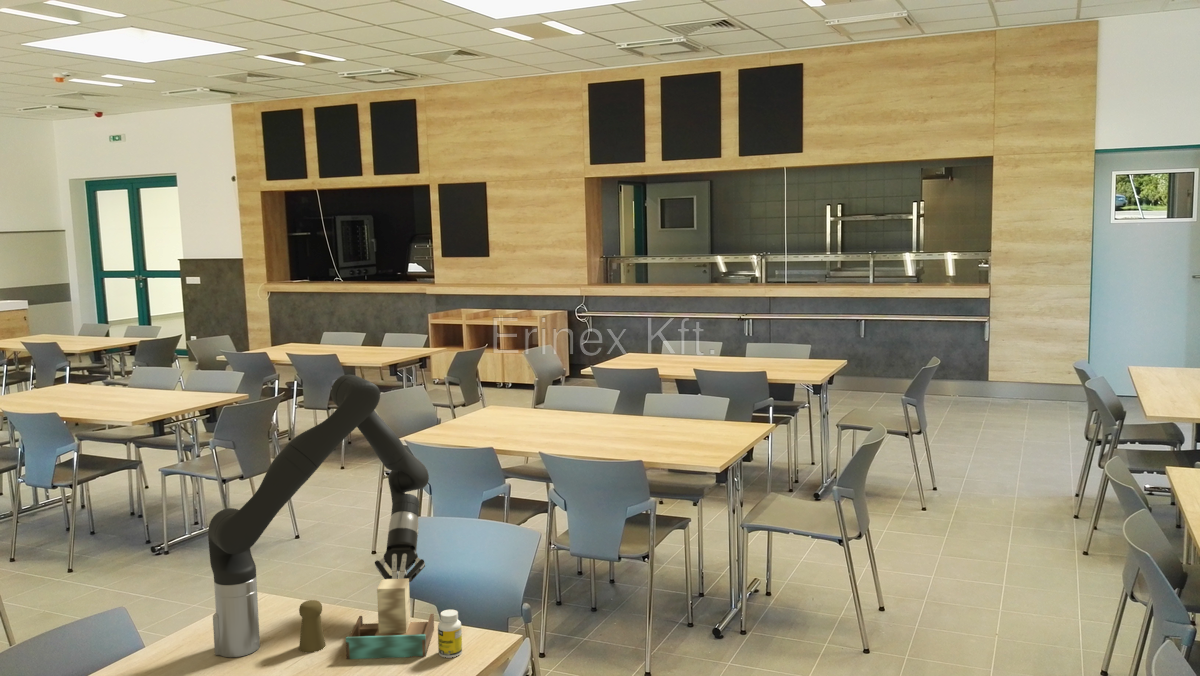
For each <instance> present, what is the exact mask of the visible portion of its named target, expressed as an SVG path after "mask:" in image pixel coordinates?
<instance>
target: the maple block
mask: <svg viewBox="0 0 1200 676" xmlns="http://www.w3.org/2000/svg"><path fill="white" fill-rule="evenodd" d="M376 595H377V619H378V620H377V621H378V622H377V623H378V625H379V634H384V633H406V632H407V630H408V627H409V624H410V622H411V598H410V582H409V578H407V579H399V578H398V579H384V578H382V579H381V580H380V582H379V584H378V586H377V589H376Z"/></svg>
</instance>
